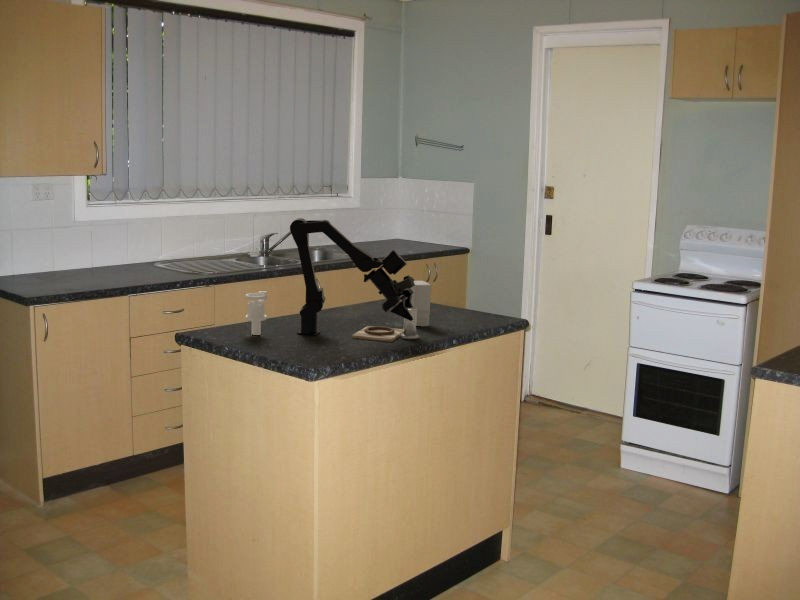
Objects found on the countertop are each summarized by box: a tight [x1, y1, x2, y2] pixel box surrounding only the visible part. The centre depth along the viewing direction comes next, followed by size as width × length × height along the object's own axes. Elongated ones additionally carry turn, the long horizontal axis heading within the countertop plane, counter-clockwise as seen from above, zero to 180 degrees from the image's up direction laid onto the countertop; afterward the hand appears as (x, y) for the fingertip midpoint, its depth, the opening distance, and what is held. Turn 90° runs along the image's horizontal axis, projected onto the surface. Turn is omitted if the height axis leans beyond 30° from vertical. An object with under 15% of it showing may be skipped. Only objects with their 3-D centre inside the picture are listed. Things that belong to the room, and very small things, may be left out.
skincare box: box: [410, 280, 432, 327], centre depth 326 cm, size 8×7×16 cm
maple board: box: [351, 325, 403, 343], centre depth 308 cm, size 16×14×2 cm
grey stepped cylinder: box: [244, 290, 268, 336], centre depth 302 cm, size 7×7×15 cm
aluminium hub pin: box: [400, 307, 419, 341], centre depth 304 cm, size 6×6×10 cm
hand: (414, 318), depth 303 cm, fingers closed on aluminium hub pin, 4 cm apart
